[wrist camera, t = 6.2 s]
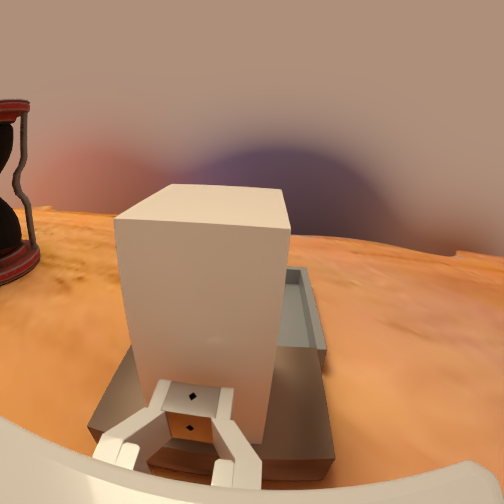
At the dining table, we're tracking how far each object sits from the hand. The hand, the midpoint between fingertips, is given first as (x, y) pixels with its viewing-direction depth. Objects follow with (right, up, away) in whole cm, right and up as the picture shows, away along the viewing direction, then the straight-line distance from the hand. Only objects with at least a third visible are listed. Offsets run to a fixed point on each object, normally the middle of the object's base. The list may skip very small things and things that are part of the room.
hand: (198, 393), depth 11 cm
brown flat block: (0, -6, +8) cm, 10 cm away
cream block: (0, -3, +6) cm, 7 cm away
